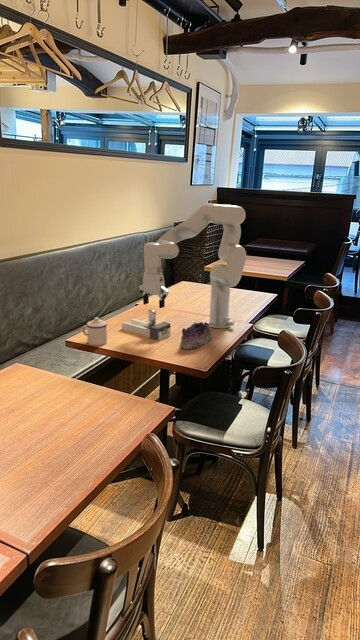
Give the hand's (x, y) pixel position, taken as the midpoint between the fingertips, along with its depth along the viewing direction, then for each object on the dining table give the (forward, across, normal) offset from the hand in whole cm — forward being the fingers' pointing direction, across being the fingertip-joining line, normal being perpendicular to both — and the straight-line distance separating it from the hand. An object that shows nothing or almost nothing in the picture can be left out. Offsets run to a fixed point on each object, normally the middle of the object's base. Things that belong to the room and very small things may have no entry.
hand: (153, 305), depth 213 cm
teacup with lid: (+13, +14, +26) cm, 32 cm away
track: (+14, +5, +1) cm, 15 cm away
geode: (+15, -22, -2) cm, 27 cm away
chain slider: (+12, -1, +1) cm, 12 cm away
